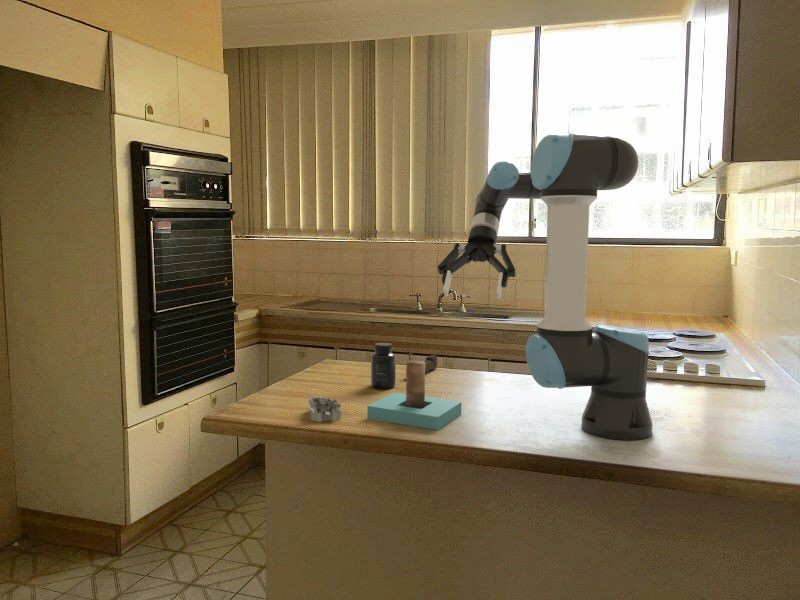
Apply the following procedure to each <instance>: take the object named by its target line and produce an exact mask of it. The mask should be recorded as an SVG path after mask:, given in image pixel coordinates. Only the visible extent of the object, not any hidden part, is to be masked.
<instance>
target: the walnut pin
mask: <svg viewBox="0 0 800 600" xmlns="http://www.w3.org/2000/svg"><path fill="white" fill-rule="evenodd" d="M424 361H425V360H407V361H406V370H405V376H406V380H405V381H406V382H405V394H406V407H411V408H418V409H423V408H424V407H425V397H426V396H425V395H426V394H425V393H426V391H425V390H426V373H425V362H424Z"/></svg>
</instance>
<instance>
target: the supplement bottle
mask: <svg viewBox="0 0 800 600" xmlns="http://www.w3.org/2000/svg"><path fill="white" fill-rule="evenodd" d="M373 351H374V353H373V354H371V357H370V385H371V387H372V388H374V389H377V390H378V389H380V390H388V389H393V388H395V386H396V365H397V364H396V361H397V360H396V359H397V357H396V355H395V354H394V353H393V343H389V342H376V343H375V344H374V350H373Z"/></svg>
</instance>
